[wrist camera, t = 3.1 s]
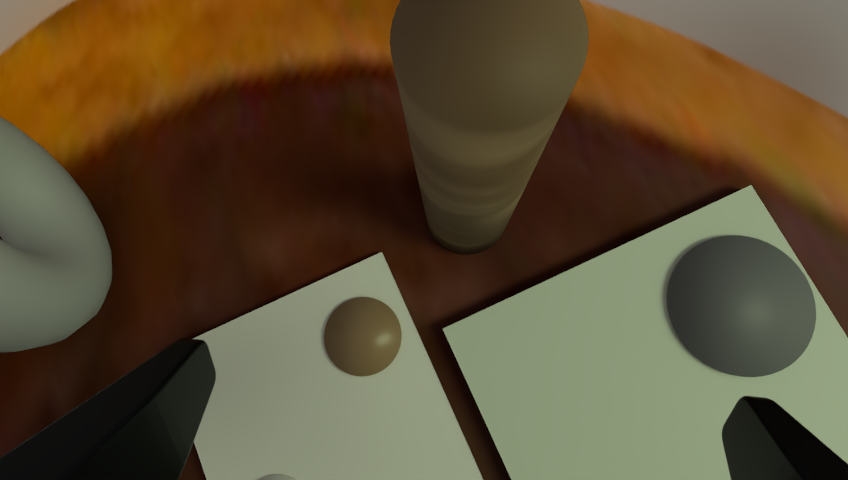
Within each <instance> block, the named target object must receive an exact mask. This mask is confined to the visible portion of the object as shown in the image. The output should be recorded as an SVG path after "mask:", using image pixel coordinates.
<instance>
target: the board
mask: <svg viewBox="0 0 848 480" xmlns="http://www.w3.org/2000/svg"><path fill="white" fill-rule="evenodd" d="M443 331H444V333H445V335H446V338H447V340H448V342H449V344H450V346H451V349H452V351H453V353H454V355H455V357H456V360H457V362H458V364H459V366H460V368H461V371H462V373H463V375H464V377H465V379H466V381H467V384H468V386H469V388H470V390H471V392H472V395H473V397H474V399H475V401H476V403H477V406H478V408H479V410H480V412H481V414H482V416H483V419H484V421H485V423H486V425H487V427H488V430H489V432H490V434H491V436H492V438H493V441H494V443H495V445H496V447H497V449H498V452H499V454H500V456H501V458H502V460H503V462H504V465H505V467H506V469H507V471H508V473H509V476H510V478H511V480H731V477H730V473H729V469H728V464H727V460H726V455H725V451H724V447H723V442H722V429H723V425H724V423H725V422H726V420H727V418H728V417H729V415H730V413H731V411H732V410H733V408H734V406H735V405H736V403H737V401H738V400H739V399H740V398H741V397H743V396H754V397H764V398H769V399H771V400H773V401H775V402H776V403H777V404H778V405H780V406H781V407H782V408H783V409H784V410H785V411H787V412H788V413H789V414H790V415H791V416H792V417H794V418H795V419H796V420H797V421H798V422H799V423H801V424H802V425H803V426H804V427H805V428H806V429H808V430H809V431H810V432H811V433H812V434H813V435H815V436H816V437H817V438H818V439H819V440H820V441H822V442H823V443H824V444H825V445H826V446H827V447H829V448H830V449H831V450H832V451H833V452H834V453H836V454H837V455H838V456H839V457H840V458H841V459H843V460H844V461H845V462H846V463H847V464H848V338H847V336H846V334H845V333H844V331H843V330H842V328H841V326H840V325H839V323H838V322H837V320H836V319H835V317H834V315H833V314H832V312H831V311H830V309H829V307H828V306H827V304H826V303H825V301H824V300H823V298H822V296H821V295H820V293H819V292H818V290H817V288H816V287H815V285H814V284H813V282H812V281H811V279H810V277H809V276H808V274H807V273H806V271H805V269H804V268H803V266H802V265H801V263H800V262H799V260H798V258H797V257H796V255H795V254H794V252H793V250H792V249H791V247H790V246H789V244H788V243H787V241H786V239H785V238H784V236H783V235H782V233H781V231H780V230H779V228H778V227H777V225H776V224H775V222H774V220H773V219H772V217H771V216H770V214H769V212H768V211H767V209H766V208H765V206H764V205H763V203H762V201H761V200H760V198H759V197H758V195H757V193H756V192H755V190H754V189H753V187H752V186H751V185H750V186H748V187H746V188H744V189H742V190H739V191H737V192H735V193H733V194H731V195H729V196H727V197H724V198H722V199H720V200H718V201H716V202H714V203H712V204H709V205H707V206H705V207H703V208H701V209H699V210H696V211H694V212H692V213H690V214H688V215H686V216H684V217H681V218H679V219H677V220H675V221H673V222H671V223H669V224H666V225H664V226H662V227H660V228H658V229H656V230H654V231H651V232H649V233H647V234H645V235H643V236H641V237H639V238H636V239H634V240H632V241H630V242H628V243H626V244H623V245H621V246H619V247H617V248H615V249H613V250H611V251H608V252H606V253H604V254H602V255H600V256H598V257H596V258H593V259H591V260H589V261H587V262H585V263H583V264H581V265H578V266H576V267H574V268H572V269H570V270H568V271H566V272H563V273H561V274H559V275H557V276H555V277H553V278H550V279H548V280H546V281H544V282H542V283H540V284H538V285H535V286H533V287H531V288H529V289H527V290H525V291H523V292H520V293H518V294H516V295H514V296H512V297H510V298H508V299H505V300H503V301H501V302H499V303H497V304H495V305H493V306H490V307H488V308H486V309H484V310H482V311H480V312H477V313H475V314H473V315H471V316H469V317H467V318H465V319H462V320H460V321H458V322H456V323H454V324H452V325H450V326H447V327H445V328H443Z"/></svg>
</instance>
